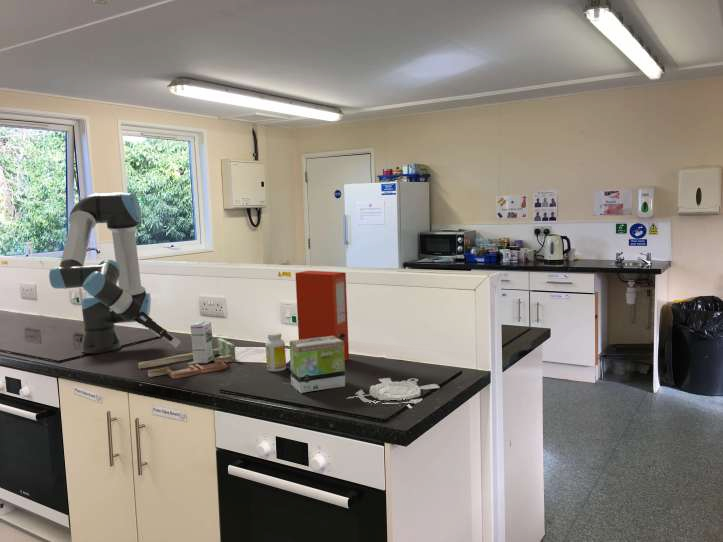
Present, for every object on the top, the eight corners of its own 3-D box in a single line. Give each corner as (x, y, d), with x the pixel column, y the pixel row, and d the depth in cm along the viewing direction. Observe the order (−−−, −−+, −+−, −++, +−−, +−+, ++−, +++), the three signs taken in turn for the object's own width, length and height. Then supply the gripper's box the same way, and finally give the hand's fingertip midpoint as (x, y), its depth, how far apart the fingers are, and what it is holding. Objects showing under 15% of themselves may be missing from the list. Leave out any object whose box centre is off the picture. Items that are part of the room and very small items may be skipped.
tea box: (300, 394, 182) (298, 347, 180) (290, 385, 191) (288, 340, 189) (346, 386, 188) (344, 340, 186) (335, 378, 197) (332, 334, 195)
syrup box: (207, 363, 222) (204, 324, 220) (193, 363, 223) (190, 324, 221) (214, 359, 228) (211, 321, 226) (200, 358, 229) (197, 321, 227)
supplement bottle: (289, 367, 212) (287, 331, 210) (281, 372, 206) (278, 336, 204) (272, 366, 214) (270, 331, 213) (263, 371, 208) (261, 335, 206)
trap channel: (138, 368, 220) (137, 351, 219) (221, 352, 237) (220, 337, 236) (155, 382, 200) (153, 365, 200) (244, 364, 218) (243, 348, 217)
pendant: (340, 403, 174) (339, 399, 174) (385, 376, 198) (385, 372, 198) (406, 414, 163) (406, 409, 163) (446, 384, 187) (446, 380, 187)
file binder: (313, 353, 230) (309, 270, 226) (349, 358, 220) (345, 272, 216) (299, 358, 224) (294, 272, 220) (335, 364, 213) (331, 275, 209)
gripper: (110, 309, 217) (156, 343, 227) (126, 320, 197) (176, 356, 207) (124, 293, 219) (169, 327, 230) (142, 302, 199) (190, 338, 209)
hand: (172, 341), depth 218 cm, fingers open, 13 cm apart
